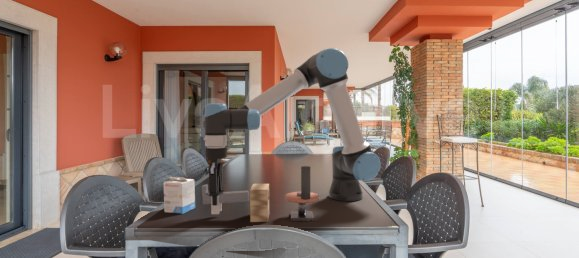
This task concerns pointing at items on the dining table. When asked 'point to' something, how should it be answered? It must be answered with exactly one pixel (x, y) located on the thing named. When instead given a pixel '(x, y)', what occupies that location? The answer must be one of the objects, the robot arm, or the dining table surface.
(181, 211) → the ink box
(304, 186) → the handwheel
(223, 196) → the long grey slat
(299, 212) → the wheel post
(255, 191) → the eye block
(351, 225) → the dining table surface
